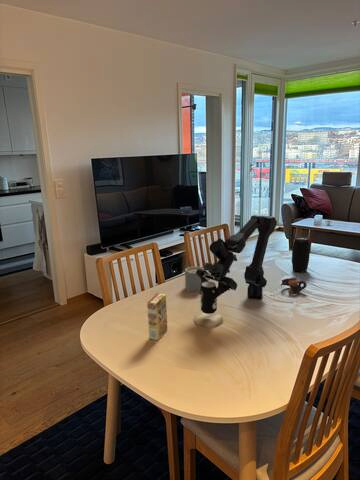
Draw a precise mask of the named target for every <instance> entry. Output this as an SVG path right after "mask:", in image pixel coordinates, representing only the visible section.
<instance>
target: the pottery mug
mask: <svg viewBox="0 0 360 480" xmlns="http://www.w3.org/2000/svg"><path fill="white" fill-rule="evenodd" d="M297 278H298V277H290V278H284V279H282V280H281V283H280V286H281V287H282V286H287V287H289V288H290V289H289V290H287V292H288V295H289V296H293V295H300V294H301V292H302V291H303V290H305V289H306V288H307V282H306V281H304V280H297ZM302 284H303V285H302Z"/></svg>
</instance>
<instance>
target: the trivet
mask: <svg viewBox="0 0 360 480" xmlns="http://www.w3.org/2000/svg"><path fill="white" fill-rule="evenodd" d="M193 320H194V323H195V324H196V325H197V326H200V327H203V328H214V327H215V328H216V327H218V326H220V325H221V324H223V322H224V318H223V316H222V315H221V314H219V313H217V312H214V313H212V314H206V313H203V312H199V313H197V314H196V315H195V316H194V318H193Z"/></svg>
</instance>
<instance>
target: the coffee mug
mask: <svg viewBox="0 0 360 480" xmlns="http://www.w3.org/2000/svg"><path fill="white" fill-rule="evenodd" d="M198 269H203V270H204V267H202V266H188V267H186V268H185V269H184V278H185V279H184V283H185V284H184V287H185V290H186V291H188V292H192V293H200V287H201V278H200V277H199V276H198V275H197V274H196V271H197V270H198Z"/></svg>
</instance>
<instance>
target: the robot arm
mask: <svg viewBox="0 0 360 480" xmlns="http://www.w3.org/2000/svg"><path fill="white" fill-rule="evenodd" d="M277 224H278V221H277V219H276V217H275V216H268V215H258V214H253V215H251V216H250V219H249V220H248V221H247V222H246V224H245V225H243V226H242V228H241V229H240V230H239V231H238V232H237V233H236V234H232V235H230V236H229V237H228V238H226V239H225V241H224V240H223V239H222V238H217V240H214V241H213V242H212V243H210V245H209V251H210V252H211V253H212V254H213V256H214V257H215V258H216V259H218V260H217V261H215V262H214V263H209V262H205V264H204V267H203V268H204V270H203V269H198V270H197V271H196V274H197V275H198V276H199V277H200V278H201V286H202V283H203V282H207V281H210V280H212V281H213V282H214V281H215V282H217V286H216V287H217V289H216V291H215V293H214V295H213V297H212V299H213V300H214V299H216V298H219V297H220V296H221V295H223V294H225V293H226V292H227V291H231V290H232V291H236V290H237V288H238V283H237V282H236V281H235V280H234V278H232V277H229V276H227V274H230V273H231V270H230V268H231V267H232V265H233V263H234V262H238V258H237V254H240V253H242V251H243V250H244V249H245V247H246V243H247V241H248V239H249V238H250V237H251V236H252V235H253V234H254V233H255V231H256V230H257V231H258V232H257V233H258V235H257V240H256V243H255V248H254V252H253V256H252V258H251V259H252V260H251V263H250V264H249V265H247V266H245V270H244V273H243V274H244V276H243V278H244V281H245V284H246V285H248V286H247V291H246V293H247V298H248V299H253V300H263V297H264V293H263V292H264V291H263V289H264V288H265V287H266V286H267V283H268V280H267V279H266V278H265V277H264V273H265V271H264V267H263V265H264V264H263V263H264V260H265V259H264V258H265V254H266V251H267V247H268V243H269V240H270V239H269V238H270V236H272V234H273V233H275V229H276V226H277ZM199 295H200V296H201V287H200V292H199Z"/></svg>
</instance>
